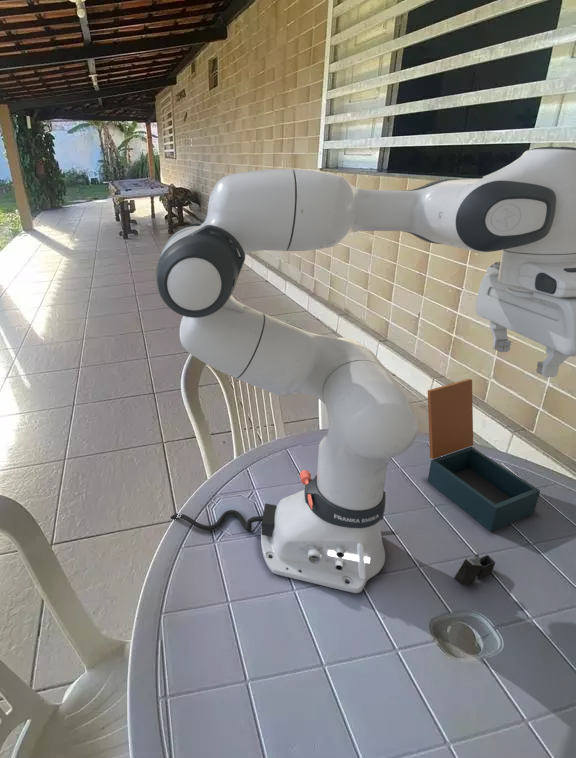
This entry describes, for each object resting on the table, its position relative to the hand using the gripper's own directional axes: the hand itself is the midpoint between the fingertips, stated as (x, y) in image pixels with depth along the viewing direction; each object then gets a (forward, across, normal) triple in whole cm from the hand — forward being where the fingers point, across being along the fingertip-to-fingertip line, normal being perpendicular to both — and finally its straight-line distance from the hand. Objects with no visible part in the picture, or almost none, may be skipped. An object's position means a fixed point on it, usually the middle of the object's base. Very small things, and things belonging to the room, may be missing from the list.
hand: (521, 361), depth 63 cm
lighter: (+39, +2, -4) cm, 39 cm away
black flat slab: (+37, -16, +8) cm, 41 cm away
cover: (+23, -22, +5) cm, 33 cm away
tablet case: (+37, -16, +8) cm, 41 cm away
